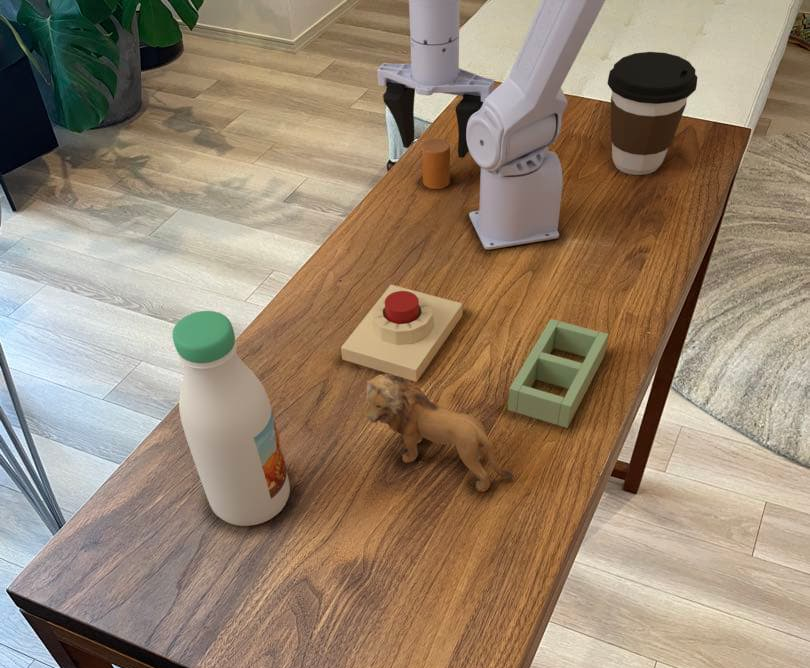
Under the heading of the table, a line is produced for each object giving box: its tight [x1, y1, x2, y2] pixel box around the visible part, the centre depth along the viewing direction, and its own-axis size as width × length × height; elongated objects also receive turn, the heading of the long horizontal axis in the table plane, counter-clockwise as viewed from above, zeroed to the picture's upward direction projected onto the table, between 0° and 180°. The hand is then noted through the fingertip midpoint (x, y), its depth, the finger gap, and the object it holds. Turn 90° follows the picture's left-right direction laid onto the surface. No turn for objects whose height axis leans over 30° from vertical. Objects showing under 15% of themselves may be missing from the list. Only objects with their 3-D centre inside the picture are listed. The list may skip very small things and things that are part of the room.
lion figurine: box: [363, 373, 515, 493], centre depth 77 cm, size 15×5×9 cm, turn 68°
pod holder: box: [507, 318, 609, 429], centre depth 86 cm, size 6×12×3 cm, turn 154°
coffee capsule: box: [421, 138, 451, 190], centre depth 109 cm, size 4×4×5 cm
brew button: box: [385, 291, 419, 324], centre depth 89 cm, size 4×4×2 cm
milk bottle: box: [172, 310, 291, 527], centre depth 71 cm, size 8×8×20 cm
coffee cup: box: [607, 51, 698, 176], centre depth 107 cm, size 11×11×12 cm
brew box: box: [340, 284, 464, 383], centre depth 91 cm, size 12×9×4 cm
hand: (435, 148), depth 107 cm, fingers open, 7 cm apart
